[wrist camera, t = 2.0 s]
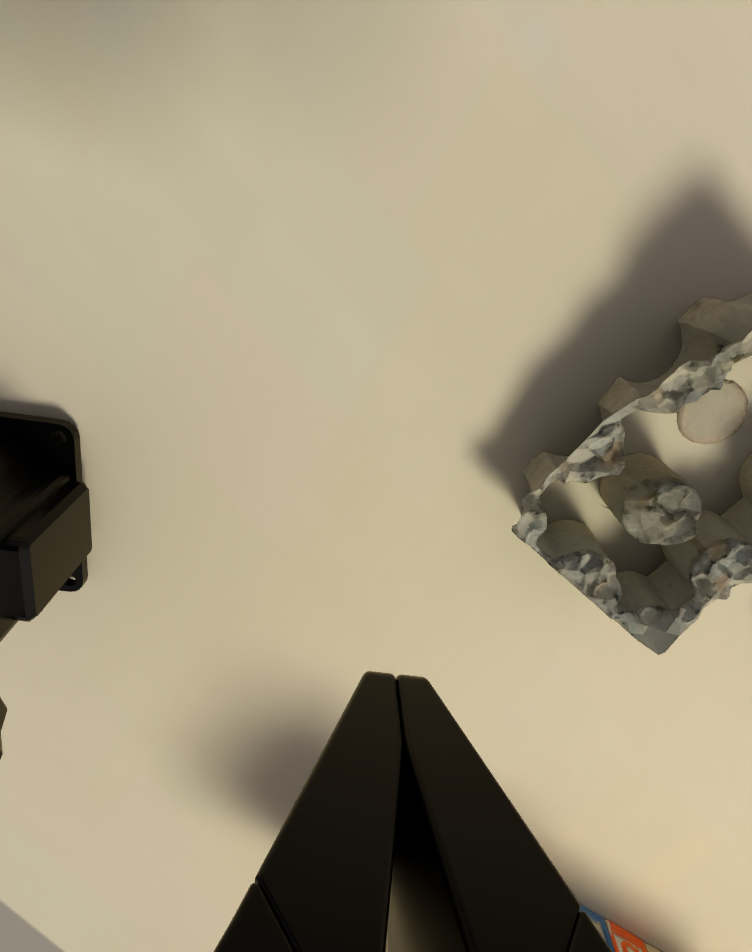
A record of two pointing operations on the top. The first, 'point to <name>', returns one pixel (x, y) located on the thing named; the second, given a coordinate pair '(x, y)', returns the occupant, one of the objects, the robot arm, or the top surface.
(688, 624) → the egg carton
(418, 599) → the top surface
